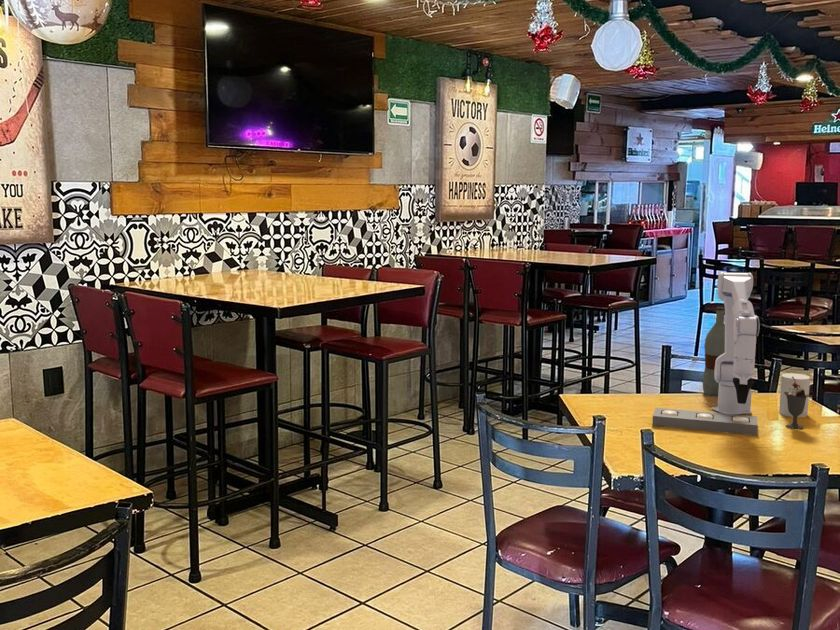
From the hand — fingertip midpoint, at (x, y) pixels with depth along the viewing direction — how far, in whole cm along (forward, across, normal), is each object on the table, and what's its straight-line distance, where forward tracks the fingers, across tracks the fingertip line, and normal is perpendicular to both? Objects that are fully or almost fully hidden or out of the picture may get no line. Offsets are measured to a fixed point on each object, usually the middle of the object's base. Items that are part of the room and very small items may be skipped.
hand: (741, 403), depth 243 cm
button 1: (+8, 0, -20) cm, 21 cm away
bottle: (+8, -43, -7) cm, 45 cm away
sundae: (+8, -8, +15) cm, 19 cm away
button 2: (+8, 0, 0) cm, 8 cm away
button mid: (+8, 0, -10) cm, 13 cm away
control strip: (+8, 0, -10) cm, 13 cm away
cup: (+8, -24, +16) cm, 30 cm away
